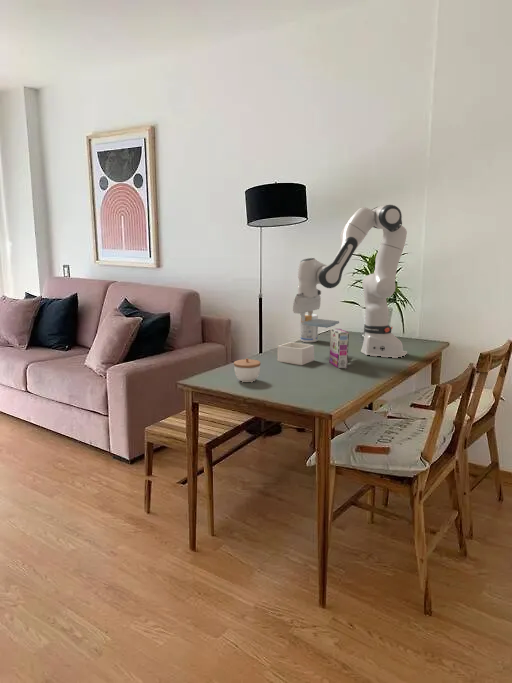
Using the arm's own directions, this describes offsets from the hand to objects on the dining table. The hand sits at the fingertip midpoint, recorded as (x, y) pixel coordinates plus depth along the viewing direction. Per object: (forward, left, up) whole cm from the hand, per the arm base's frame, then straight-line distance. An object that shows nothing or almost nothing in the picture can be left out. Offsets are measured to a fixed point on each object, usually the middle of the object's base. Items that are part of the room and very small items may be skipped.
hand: (306, 320), depth 259 cm
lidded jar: (-5, +55, -17) cm, 58 cm away
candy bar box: (-24, +12, -17) cm, 32 cm away
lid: (-6, 0, -2) cm, 7 cm away
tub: (-5, +17, -17) cm, 24 cm away
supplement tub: (+16, -30, -17) cm, 38 cm away
